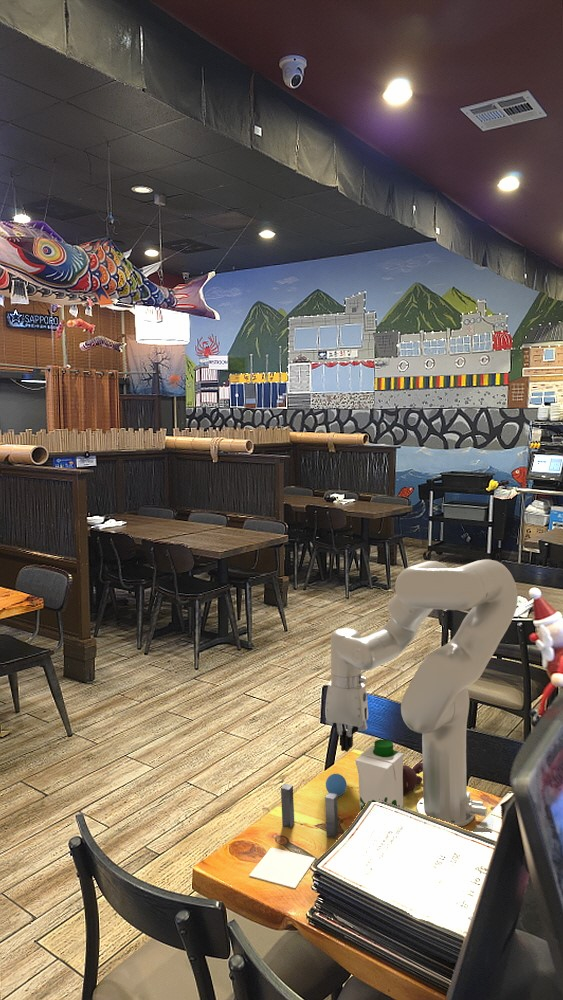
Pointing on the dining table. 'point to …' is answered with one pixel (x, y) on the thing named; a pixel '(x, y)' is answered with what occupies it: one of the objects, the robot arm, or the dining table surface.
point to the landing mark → (282, 867)
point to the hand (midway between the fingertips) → (346, 748)
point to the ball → (336, 784)
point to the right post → (331, 815)
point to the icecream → (411, 777)
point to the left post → (287, 806)
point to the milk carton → (380, 774)
